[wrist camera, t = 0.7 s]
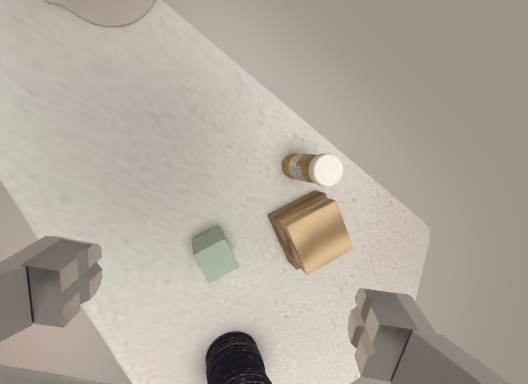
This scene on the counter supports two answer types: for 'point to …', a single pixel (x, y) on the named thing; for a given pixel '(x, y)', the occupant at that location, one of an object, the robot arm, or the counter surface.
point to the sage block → (213, 254)
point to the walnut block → (287, 211)
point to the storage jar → (235, 361)
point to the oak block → (316, 234)
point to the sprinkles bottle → (314, 168)
